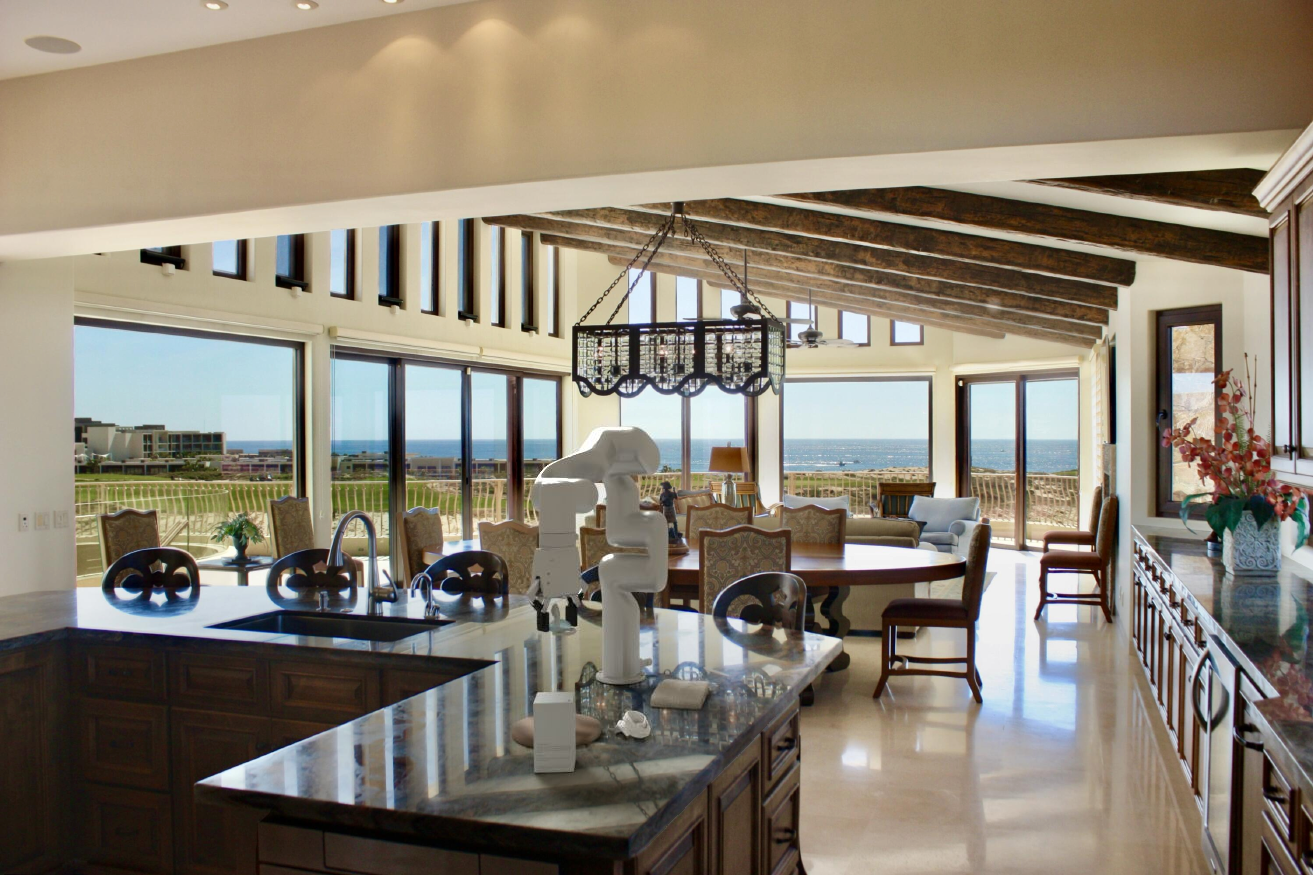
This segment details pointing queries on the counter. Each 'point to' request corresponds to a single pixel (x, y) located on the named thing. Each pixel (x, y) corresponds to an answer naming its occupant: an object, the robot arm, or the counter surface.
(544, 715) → the supplement box
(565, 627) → the pacifier
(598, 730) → the walnut board
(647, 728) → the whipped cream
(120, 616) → the counter surface
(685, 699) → the washcloth
